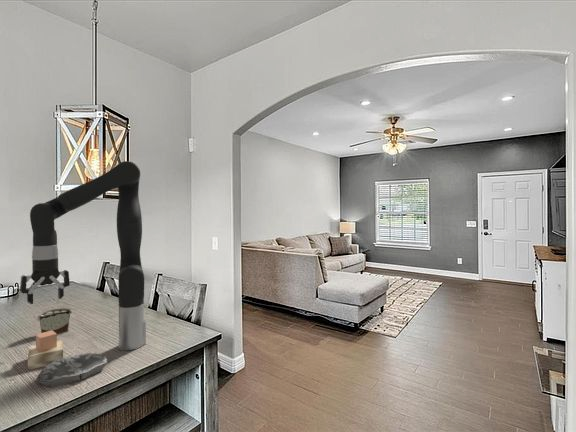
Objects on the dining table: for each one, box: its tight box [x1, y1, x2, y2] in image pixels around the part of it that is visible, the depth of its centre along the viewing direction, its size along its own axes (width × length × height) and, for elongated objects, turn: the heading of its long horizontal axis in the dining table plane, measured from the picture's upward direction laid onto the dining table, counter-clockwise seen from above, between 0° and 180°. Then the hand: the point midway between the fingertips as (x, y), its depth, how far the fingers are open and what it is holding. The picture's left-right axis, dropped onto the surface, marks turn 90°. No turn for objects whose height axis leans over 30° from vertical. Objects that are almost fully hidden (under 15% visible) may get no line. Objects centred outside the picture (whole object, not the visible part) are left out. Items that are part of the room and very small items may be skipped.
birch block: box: [27, 339, 64, 371], centre depth 116 cm, size 10×10×5 cm
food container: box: [37, 307, 73, 335], centre depth 139 cm, size 12×6×10 cm, turn 141°
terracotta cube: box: [35, 330, 58, 352], centre depth 116 cm, size 5×5×5 cm
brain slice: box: [37, 352, 108, 388], centre depth 107 cm, size 20×17×3 cm
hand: (46, 300), depth 115 cm, fingers open, 8 cm apart
